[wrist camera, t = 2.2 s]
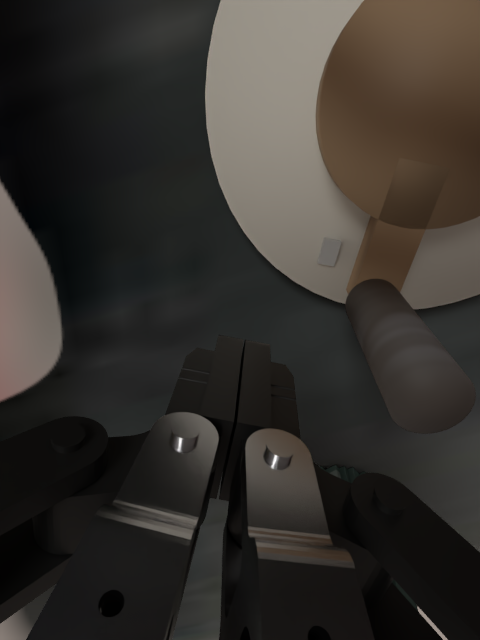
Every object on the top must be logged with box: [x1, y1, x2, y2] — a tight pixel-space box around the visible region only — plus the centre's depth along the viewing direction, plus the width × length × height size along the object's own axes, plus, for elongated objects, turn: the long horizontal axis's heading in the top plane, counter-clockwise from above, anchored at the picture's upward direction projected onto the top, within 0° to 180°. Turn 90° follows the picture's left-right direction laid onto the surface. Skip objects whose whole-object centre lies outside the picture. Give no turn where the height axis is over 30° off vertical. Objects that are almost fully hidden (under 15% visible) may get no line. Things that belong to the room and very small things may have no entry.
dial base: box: [205, 0, 480, 309], centre depth 16 cm, size 18×18×2 cm
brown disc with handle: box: [315, 0, 480, 434], centre depth 12 cm, size 14×9×8 cm, turn 169°
